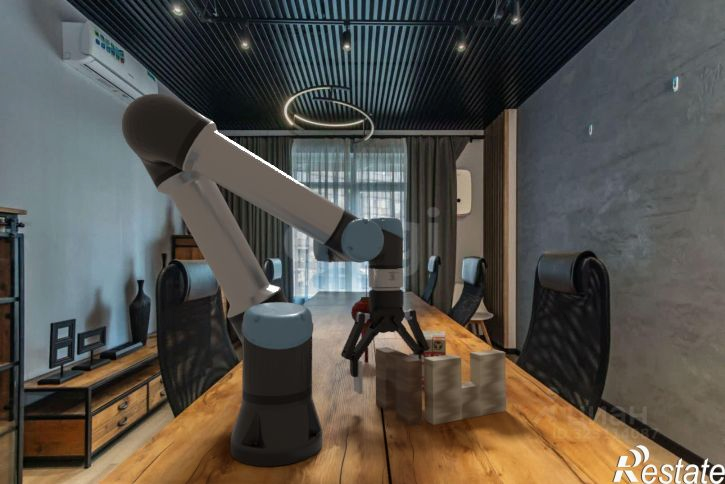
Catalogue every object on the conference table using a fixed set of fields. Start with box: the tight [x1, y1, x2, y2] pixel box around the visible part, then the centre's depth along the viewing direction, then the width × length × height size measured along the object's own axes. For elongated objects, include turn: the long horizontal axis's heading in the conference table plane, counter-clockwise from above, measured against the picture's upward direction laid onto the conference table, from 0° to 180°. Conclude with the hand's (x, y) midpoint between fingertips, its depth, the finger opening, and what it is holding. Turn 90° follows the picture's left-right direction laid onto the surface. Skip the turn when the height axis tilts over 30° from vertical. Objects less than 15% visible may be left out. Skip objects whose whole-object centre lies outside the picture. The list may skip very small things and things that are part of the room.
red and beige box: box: [421, 330, 447, 389], centre depth 114 cm, size 21×6×12 cm, turn 169°
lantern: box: [350, 264, 371, 363], centre depth 132 cm, size 10×10×30 cm
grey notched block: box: [423, 349, 507, 426], centre depth 86 cm, size 18×3×12 cm, turn 115°
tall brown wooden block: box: [375, 346, 423, 427], centre depth 87 cm, size 3×14×12 cm, turn 25°
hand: (387, 388), depth 92 cm, fingers open, 13 cm apart
